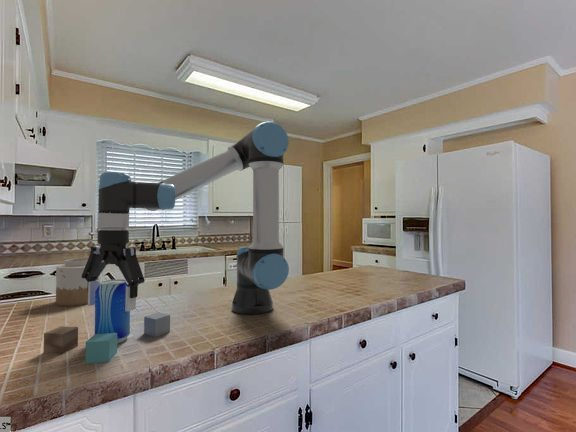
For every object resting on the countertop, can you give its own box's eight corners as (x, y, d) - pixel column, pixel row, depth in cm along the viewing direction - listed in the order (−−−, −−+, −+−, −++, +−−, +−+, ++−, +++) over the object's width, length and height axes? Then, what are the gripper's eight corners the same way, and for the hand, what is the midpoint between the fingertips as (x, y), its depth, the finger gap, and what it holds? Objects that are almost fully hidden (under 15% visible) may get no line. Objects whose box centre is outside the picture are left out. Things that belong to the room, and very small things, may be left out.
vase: (46, 303, 123) (47, 260, 123) (84, 295, 137) (85, 256, 137) (72, 308, 117) (73, 263, 117) (109, 298, 131) (110, 258, 131)
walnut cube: (77, 346, 82) (78, 327, 82) (62, 354, 77) (62, 333, 77) (60, 345, 83) (60, 326, 83) (43, 353, 78) (43, 333, 78)
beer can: (104, 335, 90) (104, 278, 90) (134, 334, 91) (135, 278, 91) (87, 346, 81) (88, 284, 82) (121, 346, 82) (122, 284, 82)
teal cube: (116, 353, 78) (117, 332, 78) (109, 362, 73) (109, 340, 73) (95, 354, 77) (95, 334, 77) (85, 363, 72) (85, 341, 72)
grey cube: (170, 331, 93) (170, 314, 93) (155, 337, 89) (155, 319, 89) (158, 328, 95) (159, 312, 96) (144, 333, 91) (144, 316, 91)
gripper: (159, 230, 86) (157, 308, 85) (93, 228, 94) (91, 299, 94) (138, 230, 79) (135, 316, 78) (68, 228, 87) (65, 305, 87)
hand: (111, 307), depth 86 cm, fingers open, 13 cm apart
